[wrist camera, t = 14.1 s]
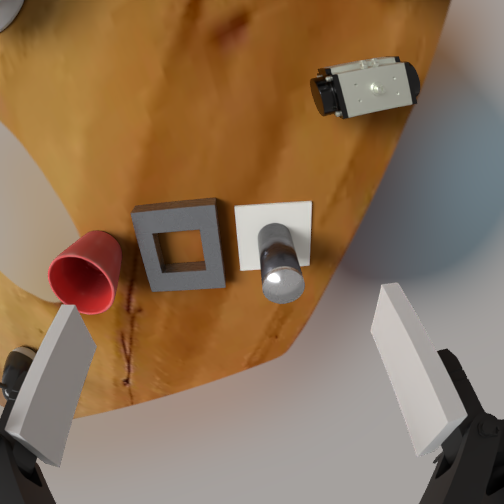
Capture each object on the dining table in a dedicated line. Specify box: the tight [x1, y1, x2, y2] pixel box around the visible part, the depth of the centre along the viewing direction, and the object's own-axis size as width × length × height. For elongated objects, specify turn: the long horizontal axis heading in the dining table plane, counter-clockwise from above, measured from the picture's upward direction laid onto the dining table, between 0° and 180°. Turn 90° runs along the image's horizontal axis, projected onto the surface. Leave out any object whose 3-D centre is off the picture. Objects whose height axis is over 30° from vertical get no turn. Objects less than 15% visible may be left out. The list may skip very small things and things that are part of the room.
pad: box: [234, 201, 312, 271], centre depth 48 cm, size 11×11×1 cm
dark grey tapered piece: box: [0, 347, 36, 401], centre depth 57 cm, size 10×10×15 cm
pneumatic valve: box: [310, 56, 420, 119], centre depth 31 cm, size 6×12×12 cm, turn 108°
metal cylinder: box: [258, 223, 305, 304], centre depth 43 cm, size 5×5×12 cm
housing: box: [131, 198, 226, 292], centre depth 48 cm, size 14×12×2 cm
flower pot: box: [48, 231, 122, 314], centre depth 44 cm, size 11×11×10 cm
